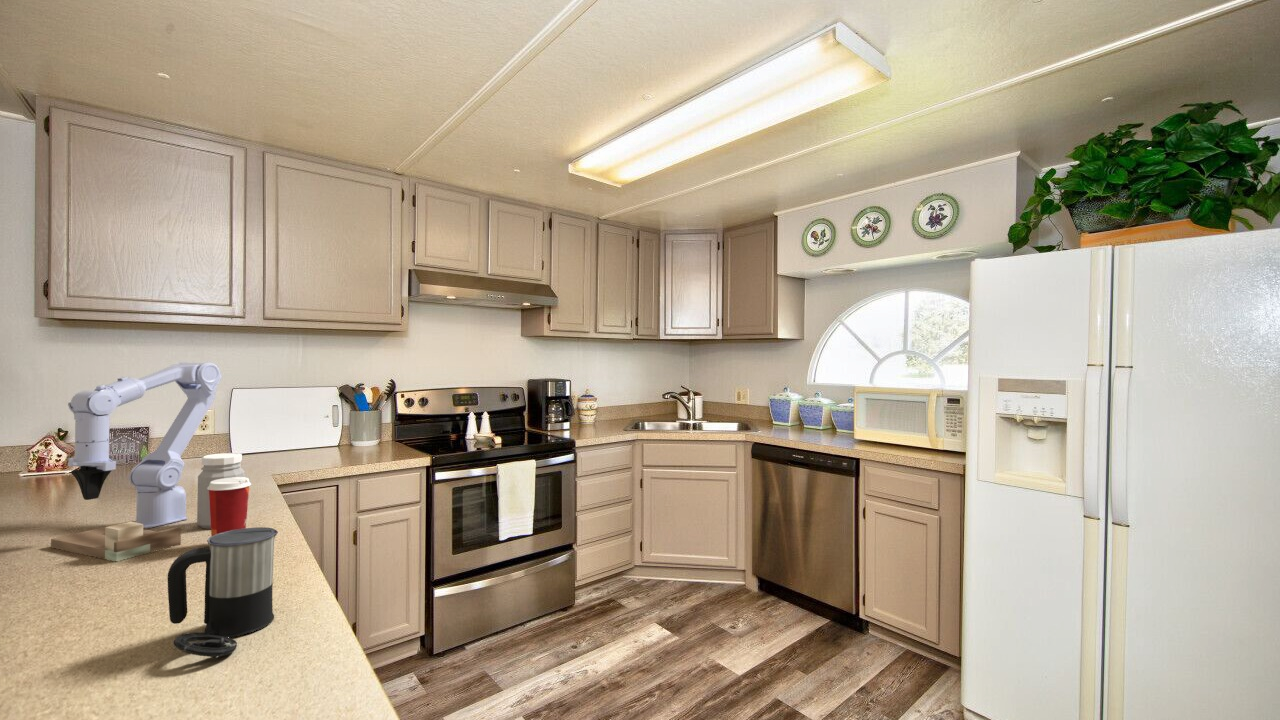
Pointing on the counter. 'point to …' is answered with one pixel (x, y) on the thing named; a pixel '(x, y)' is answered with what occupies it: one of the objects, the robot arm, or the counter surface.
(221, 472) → the jar
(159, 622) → the counter surface
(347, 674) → the counter surface
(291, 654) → the counter surface
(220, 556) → the milk frother
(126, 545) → the deck
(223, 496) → the coffee cup
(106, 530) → the block
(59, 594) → the counter surface
